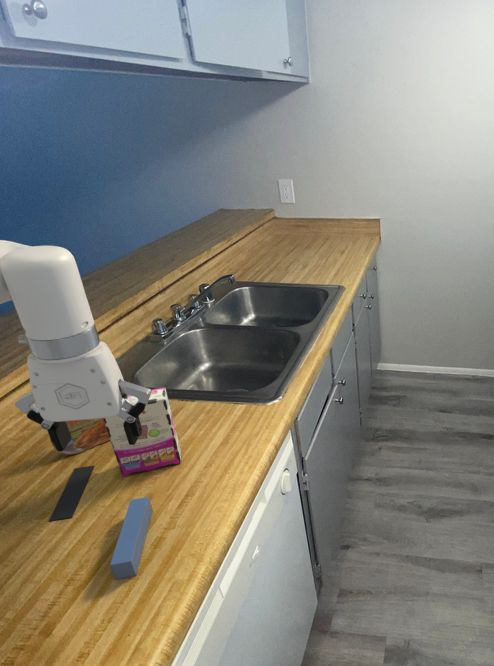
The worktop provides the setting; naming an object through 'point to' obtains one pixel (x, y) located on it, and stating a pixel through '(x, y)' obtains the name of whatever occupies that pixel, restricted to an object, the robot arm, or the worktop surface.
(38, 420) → the robot arm
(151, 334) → the worktop surface
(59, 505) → the strip
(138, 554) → the stick
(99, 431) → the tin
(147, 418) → the candy bar box
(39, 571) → the worktop surface
